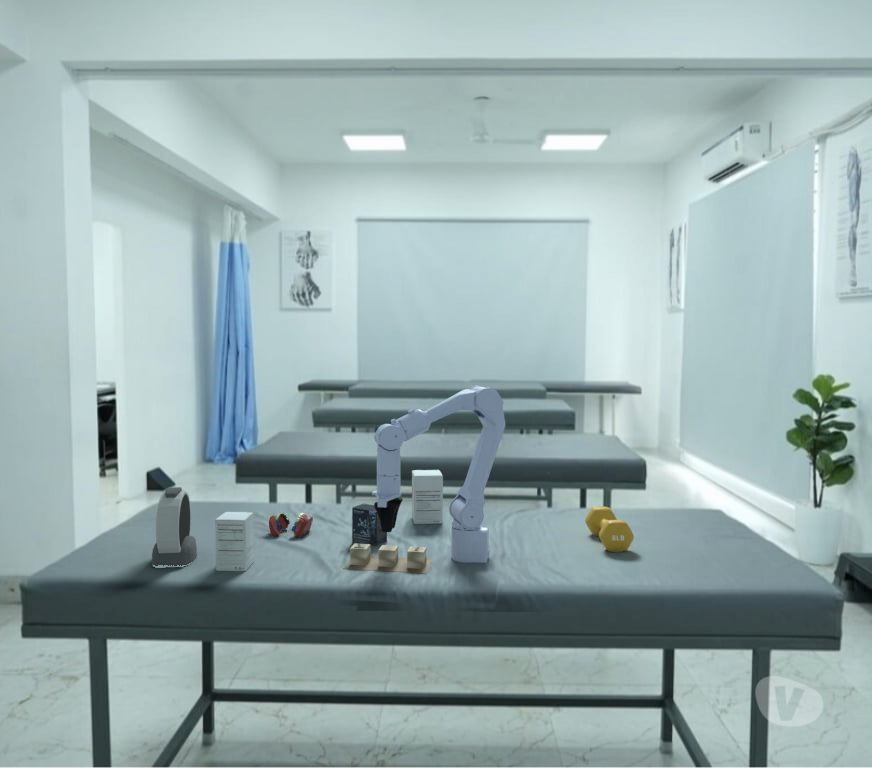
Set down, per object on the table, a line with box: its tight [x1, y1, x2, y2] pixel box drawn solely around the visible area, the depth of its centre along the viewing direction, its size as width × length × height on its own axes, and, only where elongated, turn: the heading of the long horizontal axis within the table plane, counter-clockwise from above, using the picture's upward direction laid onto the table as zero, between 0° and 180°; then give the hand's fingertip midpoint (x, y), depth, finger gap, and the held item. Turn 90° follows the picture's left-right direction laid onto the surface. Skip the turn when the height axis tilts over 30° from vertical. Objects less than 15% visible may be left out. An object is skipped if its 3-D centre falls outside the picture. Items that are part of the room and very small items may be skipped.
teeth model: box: [268, 512, 314, 539], centre depth 193 cm, size 8×6×12 cm
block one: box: [406, 546, 427, 569], centre depth 163 cm, size 4×4×4 cm
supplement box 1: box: [214, 511, 255, 572], centre depth 164 cm, size 7×7×13 cm
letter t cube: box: [349, 543, 371, 565], centre depth 165 cm, size 4×4×4 cm
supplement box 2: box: [411, 469, 444, 525], centre depth 208 cm, size 9×9×15 cm
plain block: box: [378, 544, 399, 567], centre depth 164 cm, size 4×4×4 cm
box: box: [351, 503, 388, 548], centre depth 182 cm, size 8×6×11 cm
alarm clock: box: [151, 486, 198, 566], centre depth 169 cm, size 16×10×18 cm, turn 9°
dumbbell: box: [584, 506, 635, 553], centre depth 186 cm, size 19×9×8 cm, turn 1°
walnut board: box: [342, 555, 433, 574], centre depth 164 cm, size 20×10×1 cm, turn 81°
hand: (388, 529), depth 163 cm, fingers open, 3 cm apart
